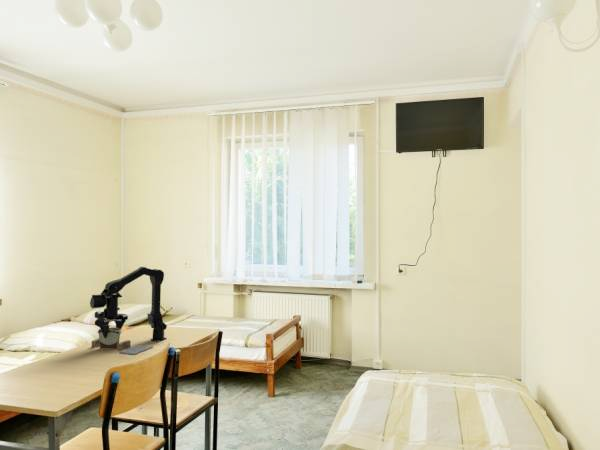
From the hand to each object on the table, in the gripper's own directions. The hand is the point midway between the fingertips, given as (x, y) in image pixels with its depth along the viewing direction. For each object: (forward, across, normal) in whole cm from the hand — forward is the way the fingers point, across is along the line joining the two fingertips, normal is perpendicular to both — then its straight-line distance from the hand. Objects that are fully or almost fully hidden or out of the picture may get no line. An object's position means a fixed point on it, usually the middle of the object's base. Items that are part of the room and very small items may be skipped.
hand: (111, 335), depth 239 cm
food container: (+6, 0, 0) cm, 6 cm away
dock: (+6, 0, 0) cm, 6 cm away
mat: (+6, 0, +16) cm, 17 cm away
